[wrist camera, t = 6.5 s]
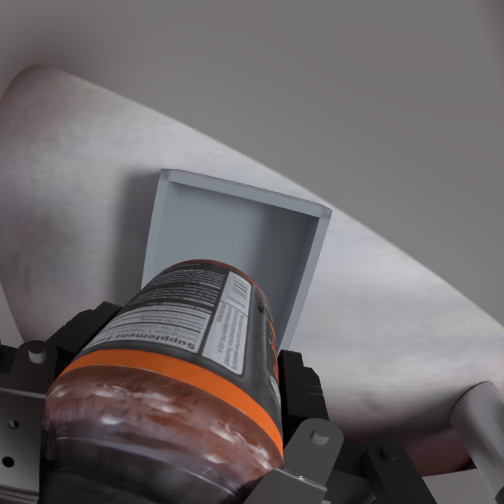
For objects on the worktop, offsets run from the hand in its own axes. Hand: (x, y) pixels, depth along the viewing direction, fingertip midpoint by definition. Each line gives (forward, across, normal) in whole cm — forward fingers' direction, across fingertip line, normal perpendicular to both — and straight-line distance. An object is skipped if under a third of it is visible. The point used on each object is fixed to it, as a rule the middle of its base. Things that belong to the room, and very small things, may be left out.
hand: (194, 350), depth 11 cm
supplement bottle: (+3, 0, 0) cm, 3 cm away
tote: (+19, 0, +4) cm, 19 cm away
